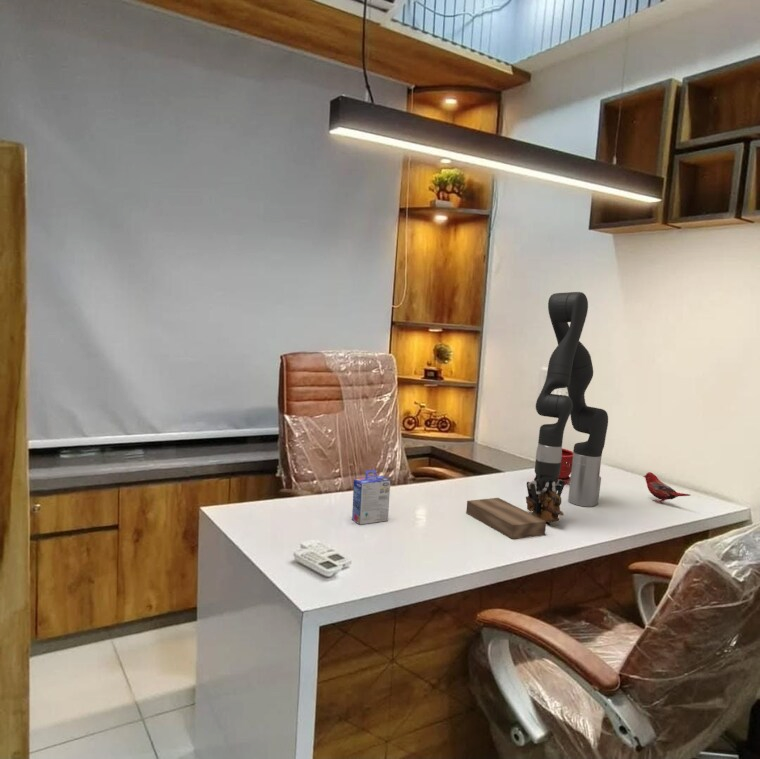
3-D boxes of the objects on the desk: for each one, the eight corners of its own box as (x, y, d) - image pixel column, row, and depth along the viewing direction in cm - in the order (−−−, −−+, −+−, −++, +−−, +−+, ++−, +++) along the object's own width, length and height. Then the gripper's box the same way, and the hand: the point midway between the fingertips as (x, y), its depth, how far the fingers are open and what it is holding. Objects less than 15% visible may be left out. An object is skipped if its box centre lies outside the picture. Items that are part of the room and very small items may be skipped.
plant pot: (530, 476, 236) (533, 446, 235) (560, 476, 239) (563, 447, 238) (547, 486, 224) (550, 454, 222) (578, 486, 227) (582, 455, 225)
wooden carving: (519, 511, 191) (523, 481, 190) (530, 510, 193) (534, 480, 192) (554, 530, 176) (558, 497, 175) (566, 529, 178) (570, 496, 177)
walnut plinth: (497, 509, 192) (498, 497, 191) (544, 534, 172) (546, 521, 172) (466, 513, 186) (467, 500, 186) (511, 539, 167) (513, 525, 166)
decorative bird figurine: (643, 496, 218) (646, 470, 217) (690, 512, 204) (694, 483, 203) (638, 497, 217) (641, 470, 216) (686, 513, 202) (690, 484, 201)
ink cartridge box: (379, 515, 179) (382, 467, 177) (389, 521, 174) (392, 472, 173) (350, 519, 174) (353, 470, 172) (359, 525, 169) (363, 475, 167)
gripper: (557, 454, 189) (551, 507, 191) (522, 457, 182) (516, 511, 184) (574, 460, 182) (568, 515, 184) (539, 463, 176) (533, 519, 178)
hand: (542, 513), depth 184 cm, fingers closed on wooden carving, 4 cm apart
